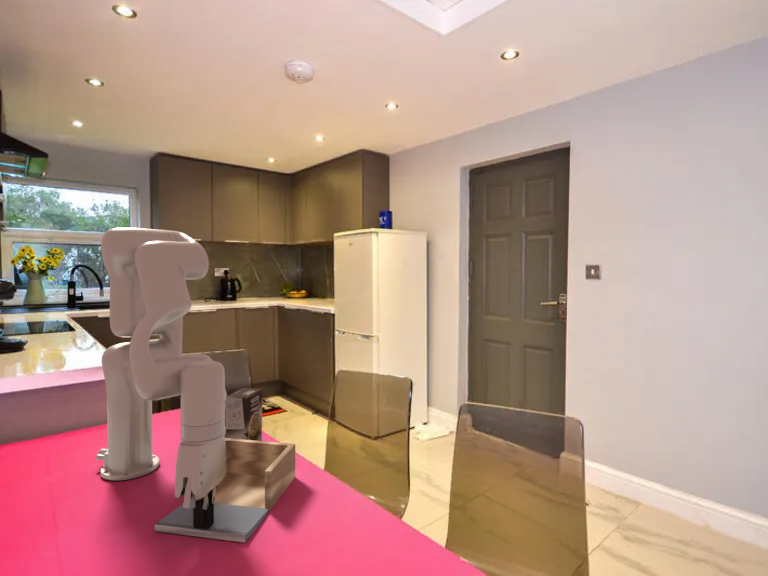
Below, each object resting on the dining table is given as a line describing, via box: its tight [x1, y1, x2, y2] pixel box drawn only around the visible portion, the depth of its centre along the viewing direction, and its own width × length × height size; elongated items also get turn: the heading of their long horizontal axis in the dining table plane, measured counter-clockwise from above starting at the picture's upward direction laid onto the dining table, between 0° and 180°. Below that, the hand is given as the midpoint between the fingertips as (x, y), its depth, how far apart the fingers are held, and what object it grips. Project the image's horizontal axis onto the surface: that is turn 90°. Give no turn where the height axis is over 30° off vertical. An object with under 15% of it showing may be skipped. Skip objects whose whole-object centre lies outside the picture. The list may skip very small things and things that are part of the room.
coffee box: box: [225, 387, 263, 441], centre depth 119 cm, size 9×6×16 cm
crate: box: [214, 437, 296, 511], centre depth 97 cm, size 18×14×9 cm
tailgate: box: [153, 503, 271, 543], centre depth 84 cm, size 18×1×11 cm
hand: (203, 525), depth 80 cm, fingers closed
